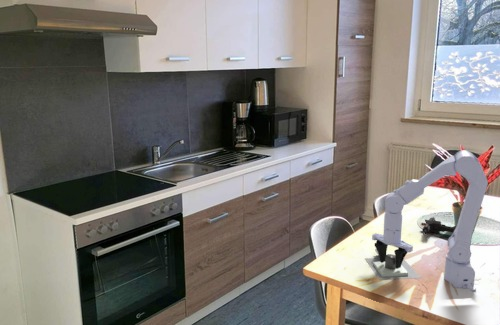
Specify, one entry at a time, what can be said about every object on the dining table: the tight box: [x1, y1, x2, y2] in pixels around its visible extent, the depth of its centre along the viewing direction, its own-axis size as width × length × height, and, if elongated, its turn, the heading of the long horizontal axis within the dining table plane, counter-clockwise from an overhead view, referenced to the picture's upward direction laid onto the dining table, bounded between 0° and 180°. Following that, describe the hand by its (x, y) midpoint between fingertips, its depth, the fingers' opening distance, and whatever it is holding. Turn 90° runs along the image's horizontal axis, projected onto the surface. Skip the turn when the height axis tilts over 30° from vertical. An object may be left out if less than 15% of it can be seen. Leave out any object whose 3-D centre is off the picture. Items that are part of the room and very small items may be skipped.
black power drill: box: [420, 216, 456, 235], centre depth 187 cm, size 5×20×15 cm
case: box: [364, 254, 422, 281], centre depth 154 cm, size 16×14×2 cm
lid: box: [373, 253, 408, 277], centre depth 152 cm, size 9×9×5 cm
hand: (390, 264), depth 152 cm, fingers open, 5 cm apart
